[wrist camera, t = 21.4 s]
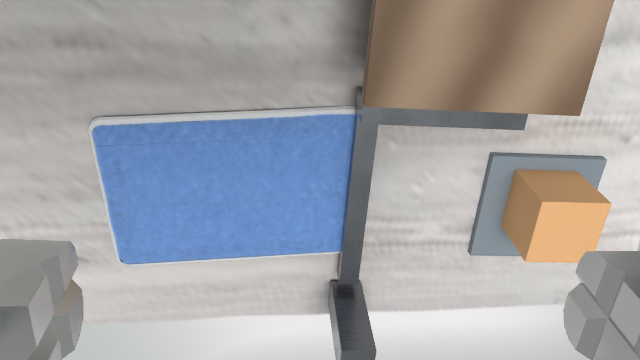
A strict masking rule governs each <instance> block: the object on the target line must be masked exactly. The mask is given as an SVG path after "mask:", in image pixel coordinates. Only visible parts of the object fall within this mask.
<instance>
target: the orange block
mask: <svg viewBox="0 0 640 360" xmlns="http://www.w3.org/2000/svg"><path fill="white" fill-rule="evenodd" d="M610 206H611V203H610V202H609V201H608V200H607V199H606V198H605V197H604V196H603V195H602V194H601V193H600V192H599V191H598V190H597V189H596V188H595V187H594V186H592V185H591V184H590V183H589V182H588V181H587V180H586V179H585V178H584V177H583V176H582V175H581V174H580V173H579V172H578V171H555V170H525V169H515V171H514V175H513V179H512V183H511V187H510V191H509V195H508V199H507V203H506V207H505V211H504V215H503V219H502V223H501V226H502V228H503V229H504V231H505V232H506V234H507V235H508V237H509V238H510V240H511V241H512V243H513V244H514V246H515V247H516V249H517V250H518V252H519V253H520V255H521V256H522V258H523V259H524V261H525V262H569V263H579V261H580V259H581V257H582V256H583V255H584V254H585V253H586V251H595V249H596V246H597V243H598V241H599V238H600V235H601V232H602V229H603V226H604V223H605V221H606V218H607V215H608V212H609V209H610Z"/></svg>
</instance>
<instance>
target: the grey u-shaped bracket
mask: <svg viewBox="0 0 640 360" xmlns="http://www.w3.org/2000/svg"><path fill="white" fill-rule="evenodd" d="M362 89H363V88H357V98H356V107H355V123H354V132H353V142H352V151H351V160H350V169H349V179H348V188H347V197H346V206H345V216H344V225H343V234H342V243H341V252H340V257H339V267H338V279H339V281H331V286H330V296H329V312H330V319H331V327H332V333H333V341H334V349H335V356H336V360H375V356H376V347H375V343H374V339H373V334H372V330H371V325H370V321H369V316H368V312H367V307H366V303H365V298H364V294H363V290H362V285H361V282H358V279H359V271H360V263H361V255H362V247H363V239H364V231H365V224H366V216H367V208H368V200H369V192H370V184H371V176H372V169H373V161H374V153H375V145H376V137H377V129H378V124H382V125H408V126H433V127H458V128H483V129H508V130H524V128H525V124H526V120H527V116H528V114H522V113H499V112H476V111H452V110H429V109H406V108H382V107H364V105H363V103H362V100H361V98H362Z"/></svg>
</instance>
